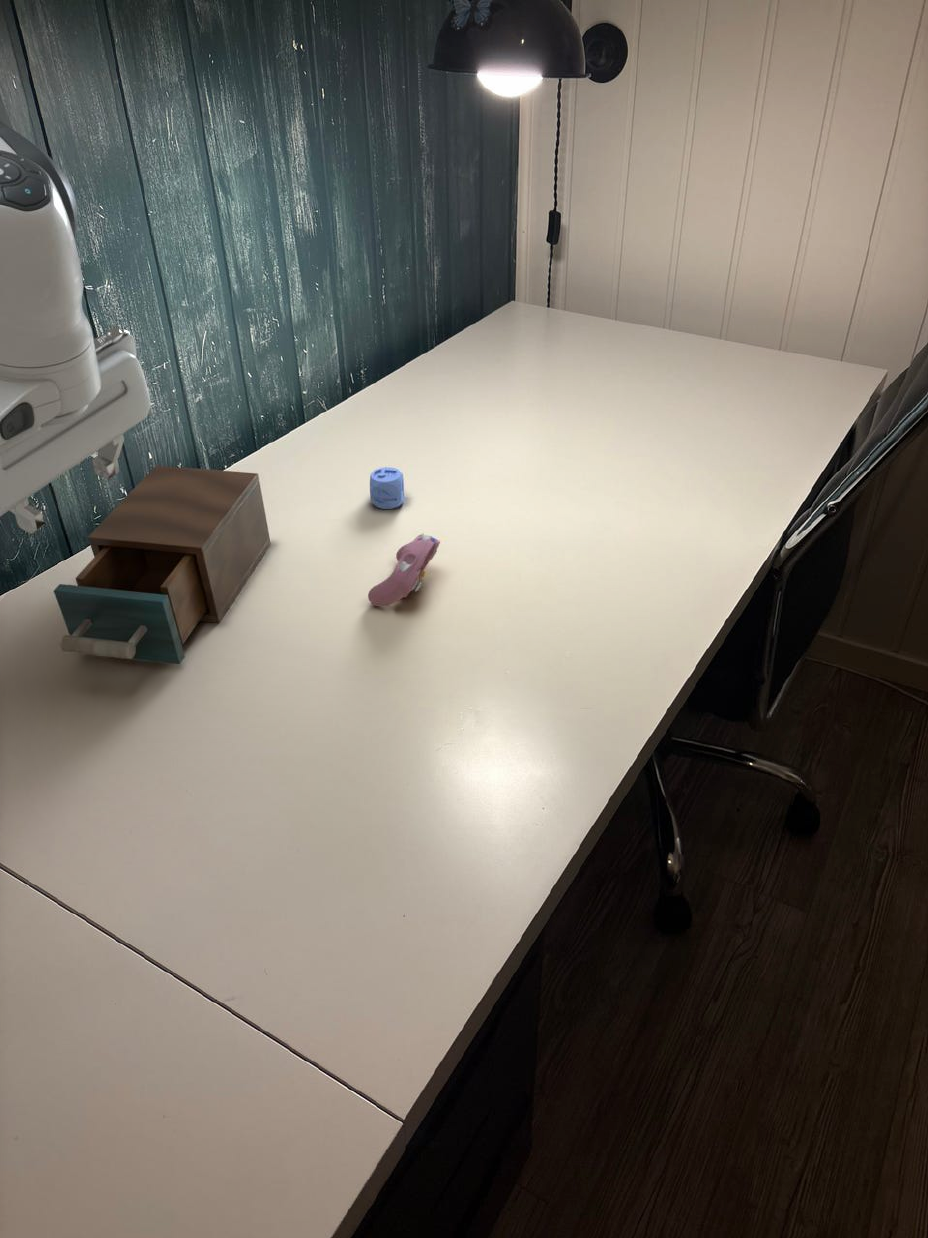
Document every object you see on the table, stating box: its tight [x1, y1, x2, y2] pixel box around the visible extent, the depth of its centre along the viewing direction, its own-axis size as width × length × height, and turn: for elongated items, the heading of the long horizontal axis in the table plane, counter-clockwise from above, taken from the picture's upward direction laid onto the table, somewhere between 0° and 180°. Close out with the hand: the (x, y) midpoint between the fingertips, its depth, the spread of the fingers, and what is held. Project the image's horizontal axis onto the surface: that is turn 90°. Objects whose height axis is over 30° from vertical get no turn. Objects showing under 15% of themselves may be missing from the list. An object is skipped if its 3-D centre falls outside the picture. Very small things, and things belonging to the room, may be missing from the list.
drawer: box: [53, 546, 208, 665], centre depth 95 cm, size 19×12×8 cm, turn 169°
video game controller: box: [367, 532, 441, 607], centre depth 102 cm, size 10×5×7 cm, turn 161°
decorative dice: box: [369, 466, 405, 510], centre depth 118 cm, size 4×4×4 cm
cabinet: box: [87, 465, 272, 624], centre depth 104 cm, size 16×13×10 cm
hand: (71, 499), depth 85 cm, fingers open, 8 cm apart
